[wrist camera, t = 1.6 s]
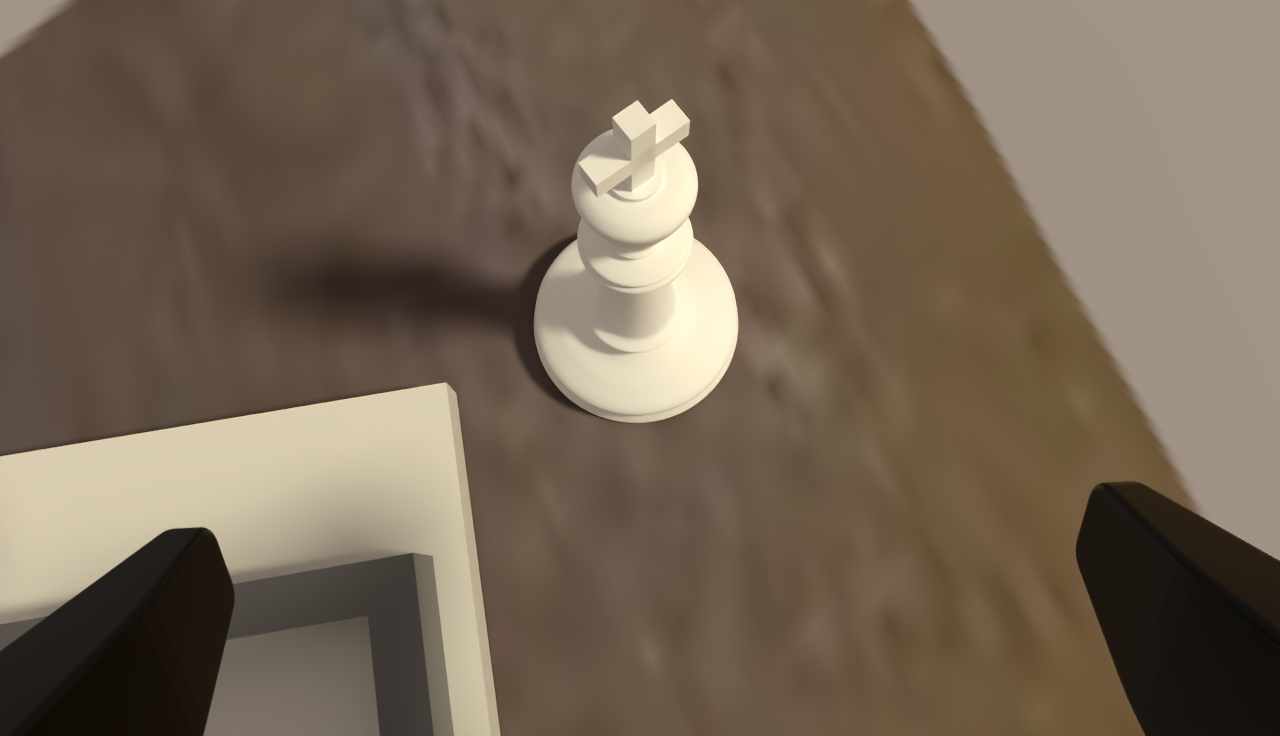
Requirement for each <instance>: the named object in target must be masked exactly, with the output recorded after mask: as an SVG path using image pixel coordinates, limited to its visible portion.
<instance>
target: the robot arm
mask: <svg viewBox="0 0 1280 736" xmlns="http://www.w3.org/2000/svg"><path fill="white" fill-rule="evenodd" d="M1076 558H1077V563H1078V566H1079V570H1080V572H1081V575H1082V578H1083V580H1084V583H1085V586H1086V589H1087V591H1088V594H1089V597H1090V599H1091V602H1092V605H1093V608H1094V610H1095V613H1096V616H1097V618H1098V621H1099V624H1100V627H1101V629H1102V632H1103V635H1104V637H1105V640H1106V643H1107V646H1108V648H1109V651H1110V654H1111V656H1112V659H1113V662H1114V665H1115V667H1116V670H1117V673H1118V675H1119V678H1120V681H1121V683H1122V685H1123V688H1124V690H1125V693H1126V695H1127V698H1128V700H1129V702H1130V704H1131V707H1132V709H1133V711H1134V713H1135V715H1136V717H1137V719H1138V721H1139V723H1140V725H1141V727H1142V729H1143V731H1144V733H1145V735H1146V736H1280V561H1279V560H1277V559H1275V558H1273V557H1272V556H1270V555H1268V554H1267V553H1265V552H1263V551H1261V550H1260V549H1258V548H1256V547H1254V546H1252V545H1251V544H1249V543H1247V542H1245V541H1244V540H1242V539H1240V538H1238V537H1236V536H1235V535H1233V534H1231V533H1229V532H1228V531H1226V530H1224V529H1222V528H1221V527H1219V526H1217V525H1215V524H1214V523H1212V522H1210V521H1208V520H1206V519H1205V518H1203V517H1201V516H1199V515H1198V514H1196V513H1194V512H1192V511H1191V510H1189V509H1187V508H1185V507H1183V506H1182V505H1180V504H1178V503H1176V502H1175V501H1173V500H1171V499H1169V498H1167V497H1166V496H1164V495H1162V494H1160V493H1159V492H1157V491H1155V490H1153V489H1152V488H1150V487H1148V486H1146V485H1144V484H1142V483H1140V482H1135V481H1125V482H1104V483H1101V484H1098V485H1096V486H1095V487H1094V489H1093V490H1092V492H1091V494H1090V497H1089V500H1088V504H1087V507H1086V511H1085V514H1084V517H1083V521H1082V524H1081V528H1080V531H1079V535H1078V538H1077V543H1076ZM234 603H235V592H234V586H233V582H232V579H231V577H230V574H229V571H228V569H227V566H226V563H225V560H224V558H223V555H222V552H221V549H220V547H219V544H218V541H217V539H216V537H215V535H214V533H213V532H212V531H211V530H210V529H208V528H205V527H193V528H174V529H169V530H166V531H164V532H162V533H161V534H159V535H158V536H156V537H155V538H154V539H152V540H151V541H150V542H148V543H147V544H146V545H144V546H143V547H141V548H140V549H139V550H137V551H136V552H135V553H133V554H132V555H130V556H129V557H128V558H126V559H125V560H124V561H122V562H121V563H120V564H118V565H117V566H115V567H114V568H113V569H111V570H110V571H109V572H107V573H106V574H105V575H103V576H102V577H100V578H99V579H98V580H96V581H95V582H94V583H92V584H91V585H89V586H88V587H87V588H85V589H84V590H83V591H81V592H80V593H79V594H77V595H76V596H74V597H73V598H72V599H70V600H69V601H68V602H66V603H65V604H64V605H62V606H61V607H59V608H58V609H57V610H55V611H54V612H53V613H51V614H50V615H48V616H47V617H46V618H44V619H43V620H42V621H40V622H39V623H38V624H36V625H35V626H33V627H32V628H31V629H29V630H28V631H27V632H25V633H24V634H23V635H21V636H20V637H18V638H17V639H16V640H14V641H13V642H12V643H10V644H9V645H7V646H6V647H5V648H3V649H2V650H1V651H0V736H203V735H204V731H205V728H206V724H207V720H208V715H209V711H210V707H211V703H212V699H213V694H214V690H215V686H216V682H217V678H218V673H219V669H220V665H221V661H222V657H223V652H224V648H225V644H226V640H227V636H228V631H229V627H230V623H231V619H232V615H233V610H234Z"/></svg>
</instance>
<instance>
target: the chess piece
mask: <svg viewBox="0 0 1280 736" xmlns="http://www.w3.org/2000/svg"><path fill="white" fill-rule="evenodd" d="M612 122H613V129H612V130H609V131H607V132H605V133H603V134H601V135H600V136H598V137H596V138H595V139H594V140H593V141H592V142H590V143H589V144H588V145H587V146H586V148H585V149H584V150H583V151H582V153H581V154H580V156H579V158H578V160H577V162H576V164H575V167H574V170H573V175H572V195H573V199H574V203H575V205H576V208H577V210H578V212H579V214H580V216H581V217H582V219H581V221H580V224H579V227H578V233H577V239H576V240H575V241H573V242H572V243H571V244H570V245H568V246H567V247H566V248H565V249H564V250H563V251H562V252H561V253H560V254H559V255H558V257H557V258H556V259H555V260H554V262H553V263H552V264H551V266H550V267H549V269H548V271H547V273H546V274H545V276H544V278H543V281H542V283H541V286H540V288H539V292H538V295H537V300H536V306H535V314H534V335H535V342H536V347H537V350H538V354H539V357H540V359H541V362H542V364H543V366H544V368H545V370H546V372H547V374H548V375H549V377H550V378H551V380H552V381H553V383H554V384H555V385H556V386H557V387H558V389H559V390H560V391H561V392H562V393H563V394H564V395H565V396H566V397H567V398H569V399H570V400H571V401H572V402H574V403H575V404H576V405H578V406H580V407H581V408H583V409H585V410H586V411H588V412H590V413H592V414H595V415H597V416H600V417H603V418H606V419H609V420H613V421H619V422H627V423H645V422H653V421H658V420H663V419H666V418H669V417H672V416H675V415H677V414H680V413H682V412H684V411H686V410H687V409H689V408H691V407H692V406H694V405H695V404H697V403H698V402H700V401H701V400H702V399H703V398H704V397H706V396H707V395H708V394H709V393H710V392H711V391H712V390H713V389H714V387H715V386H716V385H717V384H718V383H719V381H720V380H721V378H722V377H723V375H724V374H725V372H726V370H727V368H728V366H729V364H730V362H731V359H732V357H733V354H734V351H735V347H736V342H737V336H738V314H737V306H736V300H735V296H734V292H733V289H732V286H731V283H730V281H729V278H728V276H727V274H726V273H725V271H724V269H723V267H722V266H721V264H720V263H719V262H718V260H717V259H716V258H715V257H714V255H713V254H712V253H711V252H710V251H709V250H708V249H707V248H706V247H705V246H704V245H702V244H701V243H700V242H699V241H697V240H696V239H694V238H693V231H692V226H691V223H690V220H689V218H688V216H689V215H690V213H691V211H692V209H693V207H694V204H695V201H696V197H697V191H698V179H697V173H696V169H695V166H694V163H693V161H692V159H691V157H690V155H689V154H688V152H687V151H686V150H685V148H684V147H683V146H682V145H681V144H680V143H679V141H681V140H682V139H684V138H685V137H687V136H688V135H689V127H690V120H689V119H688V118H687V116H686V115H685V114H684V113H683V112H682V111H681V109H680V108H679V107H678V106H677V105H676V103H675V102H674V101H673V100H672V99H671V100H670V101H668V102H667V103H665V104H664V105H663V106H661V107H660V108H658V109H657V110H655V111H654V112H652V113H651V114H648V112H647V111H646V110H645V109H644V108H643V106H642V105H641V104H640V103H639V102H638V100H637V101H636V102H634V103H633V104H631V105H630V106H629V107H627V108H626V109H624V110H623V111H621V112H620V113H618V114H617V115H615V116H614V117H612Z"/></svg>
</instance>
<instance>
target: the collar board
mask: <svg viewBox="0 0 1280 736" xmlns="http://www.w3.org/2000/svg"><path fill="white" fill-rule="evenodd" d="M193 527H205V528H208V529H210V530H211V531H212V532H213V533H214V535H215V537H216V539H217V541H218V544H219V547H220V549H221V552H222V555H223V558H224V560H225V563H226V566H227V569H228V571H229V574H230V577H231V579H232V582H233V586H234V592H235V603H234V610H233V615H232V619H231V623H230V627H229V631H228V636H227V640H226V644H225V648H224V652H223V657H222V661H221V665H220V669H219V673H218V678H217V682H216V686H215V690H214V694H213V699H212V703H211V707H210V711H209V715H208V720H207V724H206V728H205V731H204V735H203V736H500V728H499V720H498V713H497V705H496V697H495V689H494V682H493V674H492V666H491V658H490V651H489V643H488V635H487V627H486V620H485V612H484V604H483V597H482V589H481V581H480V573H479V566H478V558H477V550H476V542H475V535H474V527H473V519H472V511H471V504H470V496H469V488H468V480H467V473H466V465H465V457H464V450H463V442H462V434H461V426H460V419H459V411H458V403H457V395H456V393H455V392H454V390H453V389H452V388H451V387H450V386H449V385H448V384H447V383H440V384H434V385H428V386H422V387H416V388H410V389H404V390H398V391H392V392H386V393H380V394H374V395H368V396H362V397H356V398H350V399H344V400H338V401H332V402H326V403H320V404H314V405H308V406H301V407H295V408H289V409H283V410H277V411H271V412H265V413H259V414H253V415H247V416H241V417H235V418H229V419H223V420H217V421H211V422H205V423H199V424H193V425H187V426H181V427H175V428H169V429H163V430H157V431H151V432H145V433H139V434H133V435H127V436H121V437H115V438H109V439H103V440H97V441H91V442H85V443H79V444H73V445H67V446H61V447H55V448H49V449H43V450H37V451H31V452H25V453H19V454H13V455H7V456H1V457H0V651H1V650H2V649H3V648H5V647H6V646H7V645H9V644H10V643H12V642H13V641H14V640H16V639H17V638H18V637H20V636H21V635H23V634H24V633H25V632H27V631H28V630H29V629H31V628H32V627H33V626H35V625H36V624H38V623H39V622H40V621H42V620H43V619H44V618H46V617H47V616H48V615H50V614H51V613H53V612H54V611H55V610H57V609H58V608H59V607H61V606H62V605H64V604H65V603H66V602H68V601H69V600H70V599H72V598H73V597H74V596H76V595H77V594H79V593H80V592H81V591H83V590H84V589H85V588H87V587H88V586H89V585H91V584H92V583H94V582H95V581H96V580H98V579H99V578H100V577H102V576H103V575H105V574H106V573H107V572H109V571H110V570H111V569H113V568H114V567H115V566H117V565H118V564H120V563H121V562H122V561H124V560H125V559H126V558H128V557H129V556H130V555H132V554H133V553H135V552H136V551H137V550H139V549H140V548H141V547H143V546H144V545H146V544H147V543H148V542H150V541H151V540H152V539H154V538H155V537H156V536H158V535H159V534H161V533H162V532H164V531H166V530H169V529H174V528H193Z"/></svg>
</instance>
